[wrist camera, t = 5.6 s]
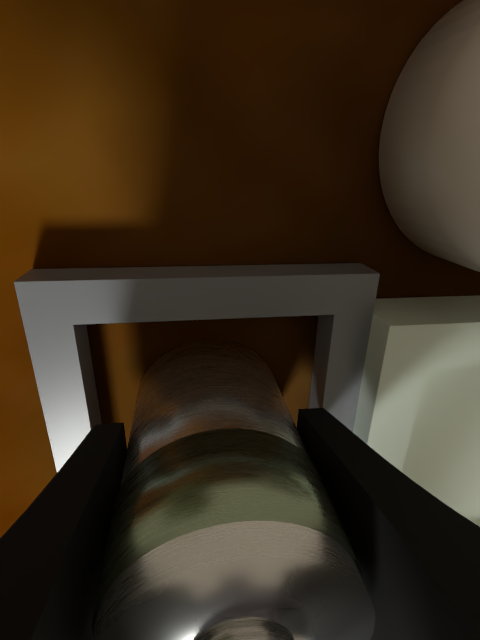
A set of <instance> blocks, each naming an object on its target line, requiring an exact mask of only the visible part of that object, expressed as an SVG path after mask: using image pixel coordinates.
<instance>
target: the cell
mask: <svg viewBox="0 0 480 640" xmlns="http://www.w3.org/2000/svg"><path fill="white" fill-rule="evenodd" d="M374 626H375V611H374V607H373V604H372V601H371V598H370V596H369V594H368V591H367V589H366V587H365V585H364V582H363V579H362V572H361V569H360V565H359V563H358V560H357V558H356V556H355V554H354V551H353V549H352V547H351V545H350V542H349V540H348V538H347V536H346V533H345V531H344V529H343V527H342V524H341V522H340V520H339V518H338V515H337V513H336V511H335V509H334V506H333V504H332V502H331V500H330V497H329V495H328V493H327V491H326V488H325V486H324V484H323V482H322V479H321V477H320V475H319V473H318V471H317V469H316V467H315V465H314V464H313V462H312V461H311V460H310V458H309V456H308V454H307V451H306V449H305V447H304V445H303V442H302V440H301V438H300V435H299V433H298V431H297V429H296V426H295V424H294V422H293V419H292V417H291V415H290V412H289V410H288V408H287V406H286V403H285V401H284V399H283V396H282V394H281V392H280V390H279V387H278V385H277V383H276V380H275V378H274V376H273V374H272V372H271V370H270V368H269V367H268V365H267V364H266V362H265V361H264V360H263V359H262V358H261V357H260V356H259V355H257V354H256V353H255V352H254V351H252V350H250V349H249V348H247V347H245V346H243V345H240V344H238V343H235V342H231V341H226V340H219V339H205V340H197V341H193V342H188V343H185V344H183V345H180V346H177V347H175V348H173V349H171V350H170V351H168V352H167V353H165V354H164V355H162V356H161V357H160V358H159V359H157V360H156V361H155V362H154V363H153V364H152V365H151V367H150V368H149V369H148V371H147V372H146V374H145V375H144V377H143V379H142V381H141V383H140V386H139V390H138V394H137V400H136V405H135V411H134V416H133V421H132V427H131V432H130V438H129V443H128V448H127V454H126V459H125V465H124V470H123V475H122V481H121V486H120V490H119V492H118V494H117V497H116V501H115V504H114V508H113V513H112V519H111V524H110V529H109V534H108V539H107V544H106V550H105V555H104V560H103V565H102V570H101V575H100V581H99V586H98V591H97V596H96V601H95V606H94V612H93V619H92V633H93V637H92V640H371V638H372V635H373V632H374Z"/></svg>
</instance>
